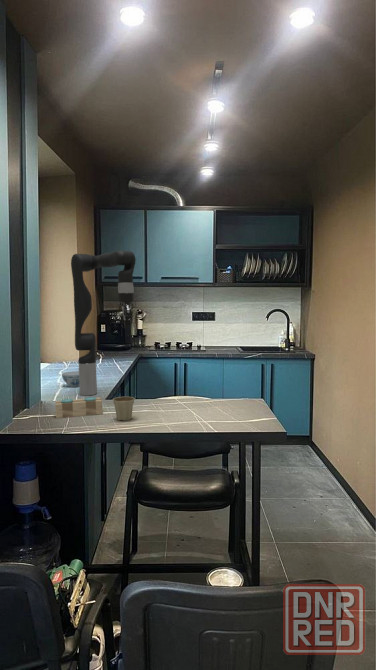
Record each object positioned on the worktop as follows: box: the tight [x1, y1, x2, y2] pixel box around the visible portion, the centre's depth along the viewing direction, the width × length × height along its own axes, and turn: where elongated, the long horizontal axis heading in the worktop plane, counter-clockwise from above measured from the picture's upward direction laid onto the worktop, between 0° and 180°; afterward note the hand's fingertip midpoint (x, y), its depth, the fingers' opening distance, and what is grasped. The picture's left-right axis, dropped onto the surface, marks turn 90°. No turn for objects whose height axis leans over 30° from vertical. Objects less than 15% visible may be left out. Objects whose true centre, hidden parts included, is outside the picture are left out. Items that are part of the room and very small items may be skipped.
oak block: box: [54, 397, 104, 419], centre depth 201 cm, size 7×20×6 cm, turn 106°
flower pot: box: [112, 396, 136, 421], centre depth 191 cm, size 9×9×9 cm
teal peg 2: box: [83, 396, 97, 401], centre depth 202 cm, size 5×5×7 cm
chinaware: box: [61, 370, 80, 388], centre depth 270 cm, size 15×15×8 cm
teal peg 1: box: [60, 398, 74, 403], centre depth 200 cm, size 5×5×7 cm
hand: (127, 327), depth 220 cm, fingers closed
